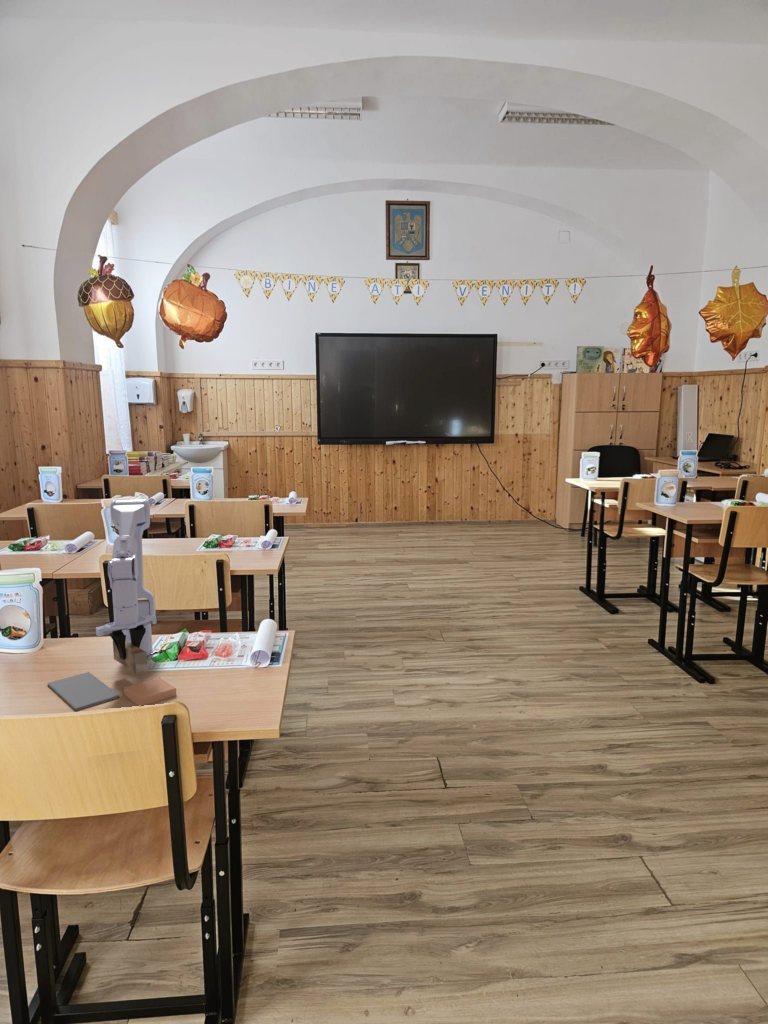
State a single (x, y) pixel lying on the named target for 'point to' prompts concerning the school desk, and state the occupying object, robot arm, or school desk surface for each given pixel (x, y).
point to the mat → (82, 691)
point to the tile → (149, 691)
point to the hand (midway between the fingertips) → (129, 656)
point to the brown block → (132, 658)
